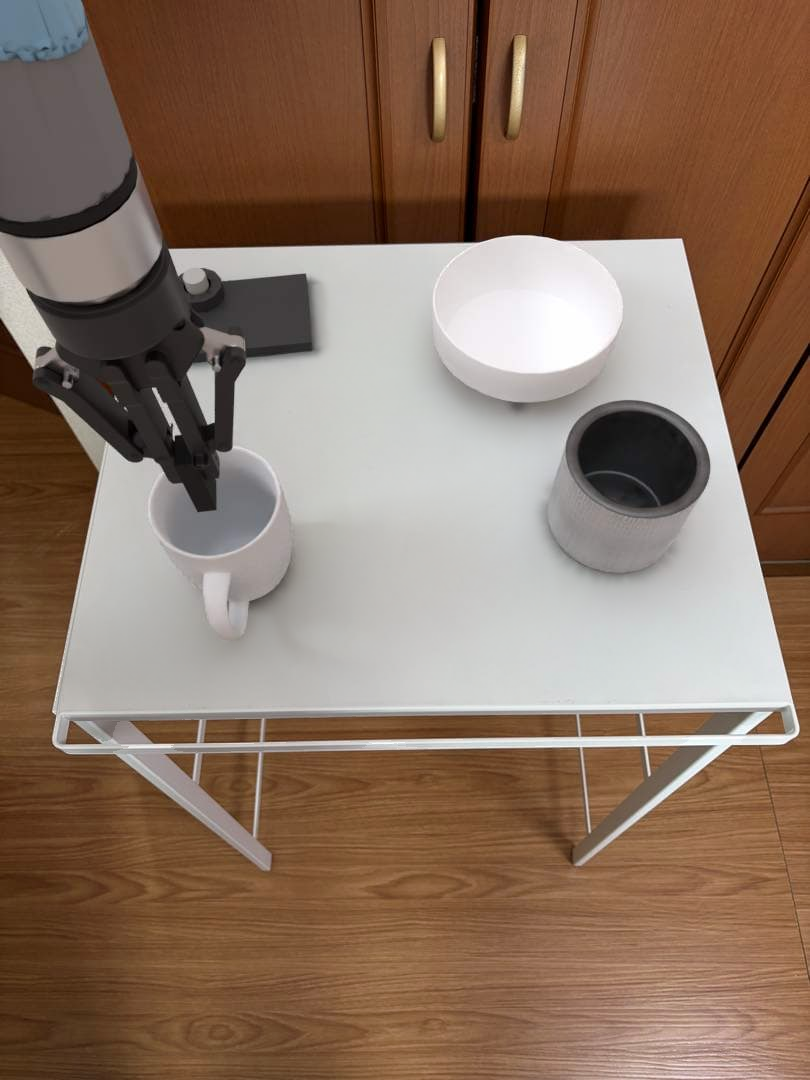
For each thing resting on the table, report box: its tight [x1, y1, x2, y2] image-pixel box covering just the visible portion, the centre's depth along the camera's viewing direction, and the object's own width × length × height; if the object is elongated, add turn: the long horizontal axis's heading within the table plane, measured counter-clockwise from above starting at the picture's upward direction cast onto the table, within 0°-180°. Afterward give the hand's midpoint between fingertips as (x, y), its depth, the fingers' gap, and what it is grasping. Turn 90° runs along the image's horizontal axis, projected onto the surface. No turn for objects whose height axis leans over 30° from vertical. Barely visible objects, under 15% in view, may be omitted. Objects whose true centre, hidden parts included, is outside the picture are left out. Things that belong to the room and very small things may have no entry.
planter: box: [546, 399, 711, 574], centre depth 69 cm, size 12×13×11 cm
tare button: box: [183, 267, 209, 295], centre depth 86 cm, size 3×3×2 cm
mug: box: [147, 445, 294, 641], centre depth 65 cm, size 15×11×13 cm
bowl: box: [431, 235, 625, 403], centre depth 80 cm, size 20×20×8 cm
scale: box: [178, 267, 314, 363], centre depth 86 cm, size 15×12×3 cm
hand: (207, 496), depth 59 cm, fingers closed
